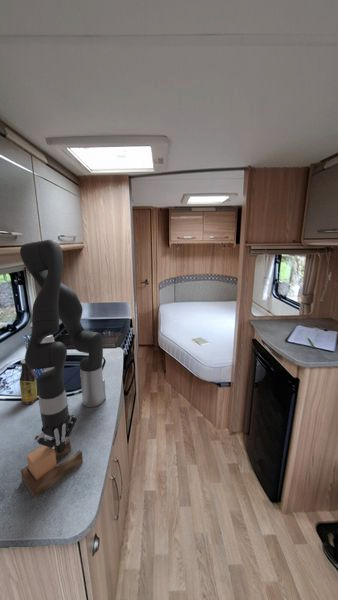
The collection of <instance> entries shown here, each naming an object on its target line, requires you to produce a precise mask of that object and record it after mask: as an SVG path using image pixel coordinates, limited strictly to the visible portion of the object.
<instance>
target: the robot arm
mask: <svg viewBox="0 0 338 600" xmlns="http://www.w3.org/2000/svg"><path fill="white" fill-rule="evenodd" d="M19 250H20V251H19V253H20V258H21V261H22V262H23V264H24V266H25V268H26V269H27V270H28V271H27V272H29V273H30V275H31V276H32V278H33V279H34V280H35V282H36V283H37V284H38V285H39V287H40V290H39V292H38V294H37V296H36V297H35V299H34V302H33V304H32V310H31V312H32V316H31V317H32V319H31V320H32V322H31V323H32V326H31V327H32V328H31V334H30V339H29V342H28V345H27V347H26V351H25V355H24V360H25V363H26V365H27V367H28V368H29V369H32V370H33V371H34V370H35V371H36V370H42V369H43V370H44V368H51V367H54V368H53V369H51V370H49V371H46V372H44V371H43V372H42V373H41V374H39V375H38V377H37V378H36V386H37V395H38V406H39V413H40V418H41V424H42V426H41V433H40V434H38V435H36V436H35V438H34V440H35V441H36V442H37V444H39V445H41V446H43V445H44V446H47V447H50V448H52V449H54V448H55V451H56V452H57V453H59V454H60V453H62V452H63V451H64V449H65V441H66V439H67V438H68V437H70V436H71V434H72V431H73V430H74V428H75V425H76V423H77V421H78V417H76V416H75V415H74V414H71V415H70V412H69V404H68V397H67V391H66V389H65V381H64V378H63V377H64V370H65V365H66V361H67V355H68V350H67V346H66V345H65V343H63V342H61V341H55V342H50V343H41V342H42V340H43V339H44V338H45V337H47V336H50V335H53V336H54V335H55V334H57V333H59V331H60V321H61V323H62V325H63V327H64V329H65V330H66V332H67V334H68V337H69V338H70V341H71V343H72V346H73V347H74V350H76V351H77V352H80V353H85V354H88V356H86V357H84V358H82V359H81V360H80V362H79V373H80V383H81V396H82V405H83V406H85V407H87V408H94V407H99V406H100V405H101V404H102V403H103V402H104V400H105V399H106V398H107V395H106V380H105V379H104V378H103V355H104V353H103V352H104V349H103V348H104V347H103V346H104V340H103V336H102V333H100V332H96V331H90V330H86V329H84V327H83V325H82V323H81V319H82V315H83V310H84V308H83V306H82V303H81V302H80V299H79V297H78V295H77V294H76V292H75V291H73V289H71V288H70V287H68V286H67V285H66V284H64V283H62V277H63V268H64V253H63V249H62V247H61V245H60V244H59V242H58V241H56V240H54V239H43V240H39V241H35V242H33V241H32V242H27V243H25V244H23V245H21V247H20V249H19ZM47 436H48V437H50V438H51V439H49V438H47Z"/></svg>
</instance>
